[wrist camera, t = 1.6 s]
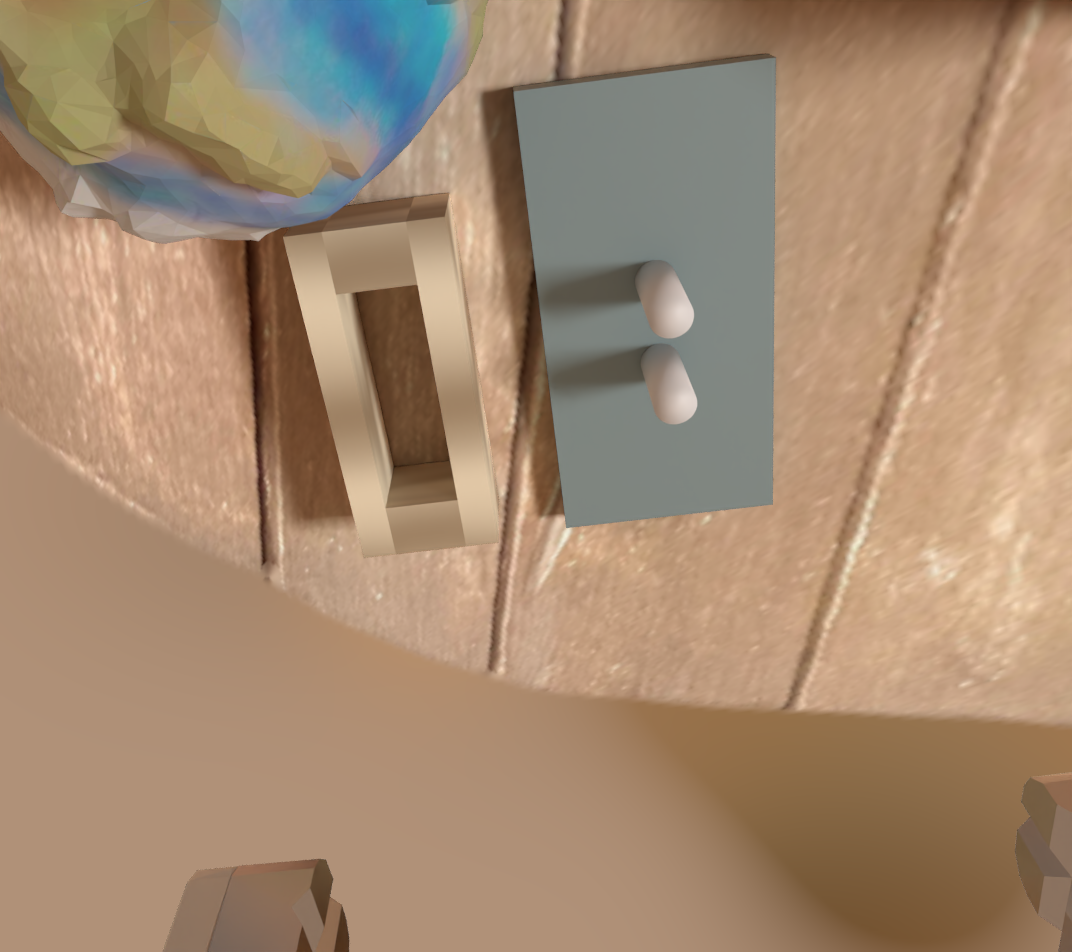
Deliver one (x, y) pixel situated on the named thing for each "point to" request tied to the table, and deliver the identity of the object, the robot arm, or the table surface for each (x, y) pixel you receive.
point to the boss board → (656, 283)
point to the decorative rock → (223, 103)
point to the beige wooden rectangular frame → (349, 386)
